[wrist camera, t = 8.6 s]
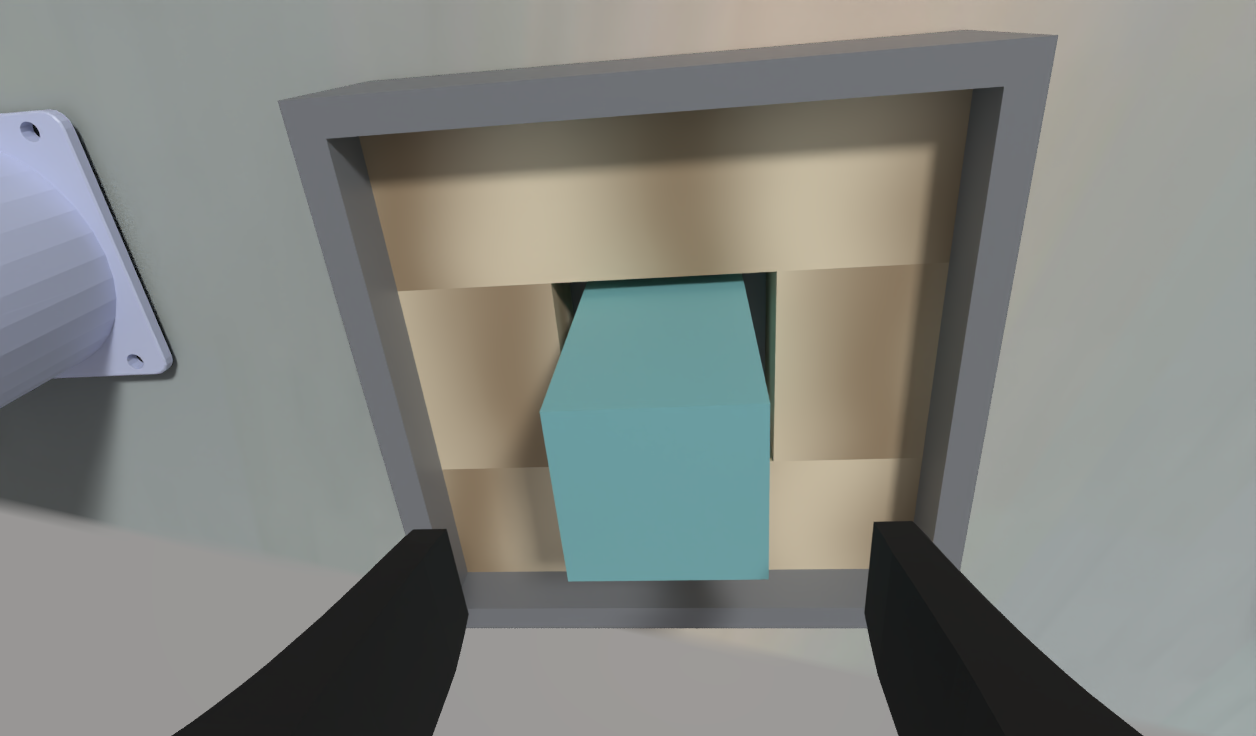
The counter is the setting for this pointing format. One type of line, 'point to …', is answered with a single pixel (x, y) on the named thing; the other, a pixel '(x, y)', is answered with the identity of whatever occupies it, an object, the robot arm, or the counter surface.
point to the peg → (661, 433)
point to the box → (972, 311)
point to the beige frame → (673, 247)
